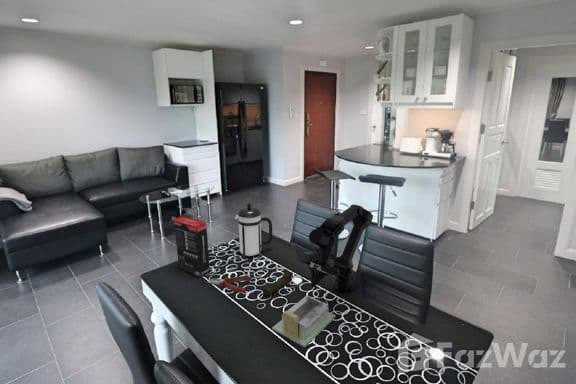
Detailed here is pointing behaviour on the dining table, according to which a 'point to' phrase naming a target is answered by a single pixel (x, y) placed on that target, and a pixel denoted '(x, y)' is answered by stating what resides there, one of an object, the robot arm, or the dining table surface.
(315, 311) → the board
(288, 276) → the hand tool
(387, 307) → the dining table surface
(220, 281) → the pliers
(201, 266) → the graphics card box
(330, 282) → the dining table surface
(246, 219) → the coffee press
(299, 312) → the dark grey flat bar
